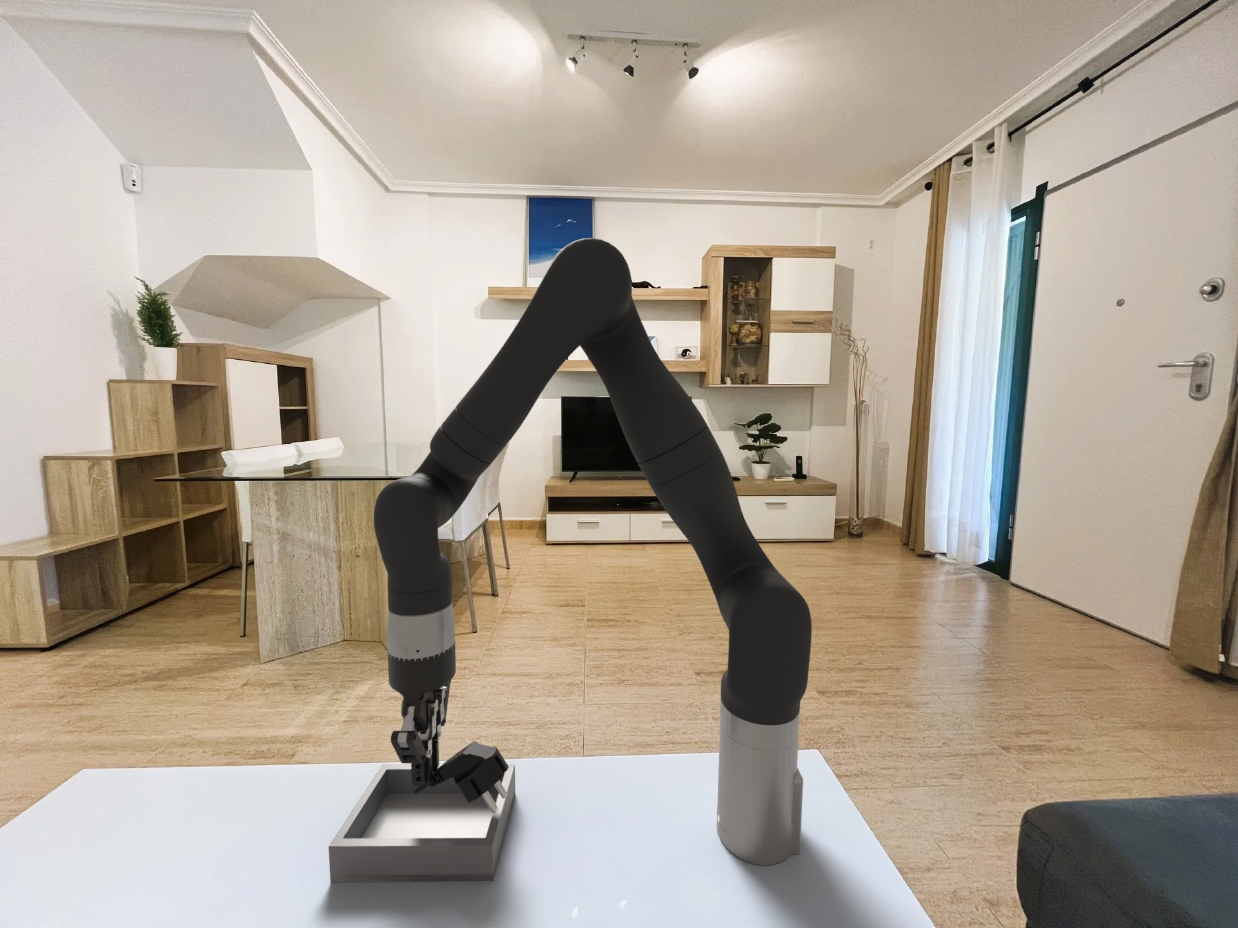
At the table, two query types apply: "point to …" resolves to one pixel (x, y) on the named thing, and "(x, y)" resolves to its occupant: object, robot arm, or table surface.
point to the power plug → (473, 773)
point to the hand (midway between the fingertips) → (426, 775)
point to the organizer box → (420, 832)
